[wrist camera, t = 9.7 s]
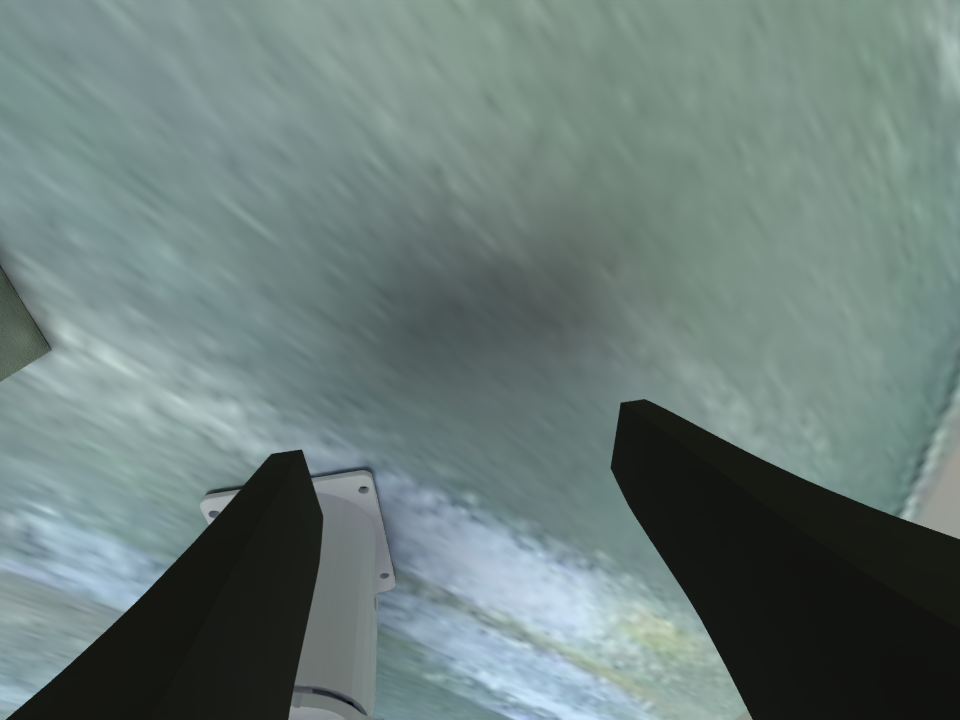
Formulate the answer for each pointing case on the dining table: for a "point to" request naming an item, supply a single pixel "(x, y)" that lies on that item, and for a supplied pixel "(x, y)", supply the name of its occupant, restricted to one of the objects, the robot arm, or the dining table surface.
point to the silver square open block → (17, 333)
